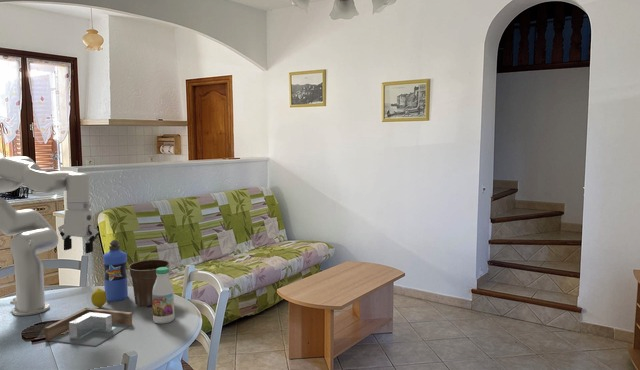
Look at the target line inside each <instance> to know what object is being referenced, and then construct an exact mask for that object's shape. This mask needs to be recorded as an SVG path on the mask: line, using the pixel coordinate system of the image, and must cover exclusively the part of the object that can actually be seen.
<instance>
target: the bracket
mask: <svg viewBox="0 0 640 370" xmlns="http://www.w3.org/2000/svg"><path fill="white" fill-rule="evenodd" d="M110 330H112V315H111V314H102V313H93V312H89V313H87V314H85V315H83V316H81V317H79V318H77V319H75V320H73V321H71V322H69V337H70V338H71V339H78V338H80V337H82V336H84V335H86V334H87V333H89V332H91V331H95V332H104V333H107V332H109V331H110Z"/></svg>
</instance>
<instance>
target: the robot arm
mask: <svg viewBox="0 0 640 370" xmlns="http://www.w3.org/2000/svg"><path fill="white" fill-rule="evenodd" d="M22 185H24V186H25V187H26V188H28V189H29V190H31V191H36V192H40V193H43V194H44V193H45V194H47V193H48V194H49V193H50V194H51V193H58V192H66V209H65V212H64V217H63V224H61V225H60V226H58V227H57V229H58V231H59V235H60V236H61V239H62V240H63V250H64V251H68V250H72V248H73V247H72V246H73V245H72V243H73V240H72V238H71V237H75V238H77V237H78V238H84V240H85V244H84V248H85V251H84V252H85V254H89V253H93V252H94V242H95V240H96V239H97V238H98V236H99V230H98V229H96V228H95V227H94V226H95V224H94V216H93V212H92V209H90V208H91V207H92V205H91V204H90V177H89V174H87V173H86V172H74V171H71V170H61V171H60V170H58V171H56V170H55V171H42V169H41V166H39V164H37V163H36V162H35V161H34V160H33V159H32V158H31V157H29V156H6V157H1V158H0V194H2V193H8V192H13V191H16V190H17V189H18V188H20V187H21V186H22ZM0 232H1V233H2V234H3V235H4V236H7V237H8V236H9V237H12V236H13V237H12V238H11V240H10V243H9V248H10V252H11V255H12V258H13V266H14V277H15V280H14V281H15V293H16V294H15V295H16V297H13V298H12V300H10V303H9V304H10V305H14V308H13V309H12V310H11V311H12V315H14V316H20V317H21V316H22V317H23V316H33V315H37V314H41V313H44V312H46V311H47V310H49V309H50V303H48V302H46V300H45V299H46V297H45V295H46V294H45V279H44V278H45V275H44V264H43V262H42V259H40V257H39V256H38V254H42V253H45V252H48V251H52V250H53V249H56V247H57V246H58V244H59V241H60V240H59V236H58V234H57V232H56V230H55V229H54V227H53V226H52V225H51V224H50V223H49V222H48V221H47V219H45V217H44V216H43V215H42V214H41V213H40V212H39V211H37V210H35V209H32V208H26V209H20V210H19V209H15V208H14V207H13V206H12V205H11V203H9V201H7V200H6V199H5V198H3V197H1V196H0Z"/></svg>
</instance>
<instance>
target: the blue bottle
mask: <svg viewBox="0 0 640 370" xmlns="http://www.w3.org/2000/svg"><path fill="white" fill-rule="evenodd" d="M108 247H109V248H108V249H109V251H107V252H106V253H104V254H103V255H102V263H103V267H104V279H103V280H104V282H103V284H104V287H103V288H104V291H105V293H106V297H107V299H106V302H109V303H110V302H120V301H124V300H126V299H128V297H129V294H128V292H129V289H128V287H129V285H128V274H127V263H128V253H127V252H125V251H122V250H121V245H120V242H119V241H118V240H117V239H114V240H111V241H110V242H109V246H108Z"/></svg>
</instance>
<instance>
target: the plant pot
mask: <svg viewBox="0 0 640 370" xmlns="http://www.w3.org/2000/svg"><path fill="white" fill-rule="evenodd" d="M170 265H171V263H170V262H169V261H168V260H164V259H144V260H138V261H137V262H132V263H130V264H129V265H128V270H129V273H130V274H129V275H130V277H131V280H132V281H131V282H132V288H133V289H132V290H133V295H134V304H135V305H136V306H138V307H141V308H142V307H145V308H148V307H149V306H150V307H153V302H152V292H153V287H154V284H155V282H156V279H157V275H156V269H157V268H160V267H167V268H169V269H170Z"/></svg>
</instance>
